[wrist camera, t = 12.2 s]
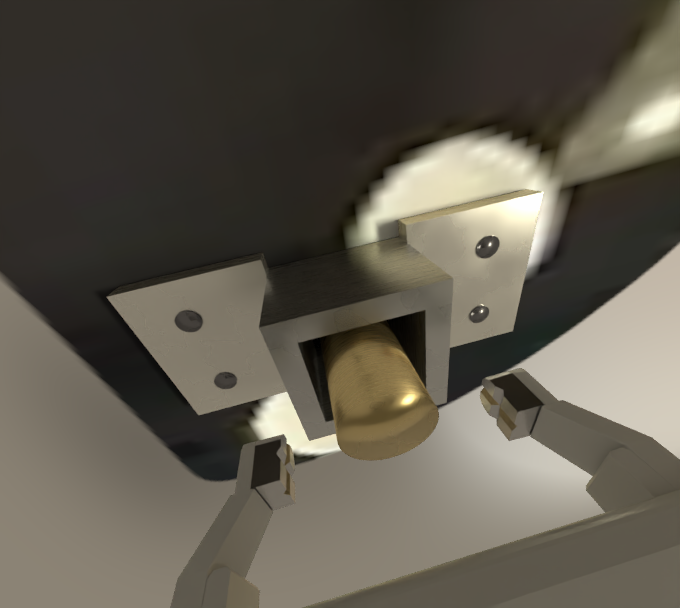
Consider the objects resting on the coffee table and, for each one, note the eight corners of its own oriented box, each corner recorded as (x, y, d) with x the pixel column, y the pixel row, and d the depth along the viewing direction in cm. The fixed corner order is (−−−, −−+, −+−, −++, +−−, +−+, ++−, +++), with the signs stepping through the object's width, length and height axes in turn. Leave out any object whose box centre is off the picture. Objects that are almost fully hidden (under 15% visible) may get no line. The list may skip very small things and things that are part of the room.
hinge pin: (308, 289, 16) (327, 411, 9) (369, 274, 17) (440, 381, 9) (322, 337, 18) (346, 470, 11) (376, 324, 19) (437, 444, 11)
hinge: (119, 286, 14) (25, 362, 9) (526, 189, 15) (644, 208, 10) (203, 401, 19) (173, 489, 14) (501, 321, 21) (571, 377, 16)
